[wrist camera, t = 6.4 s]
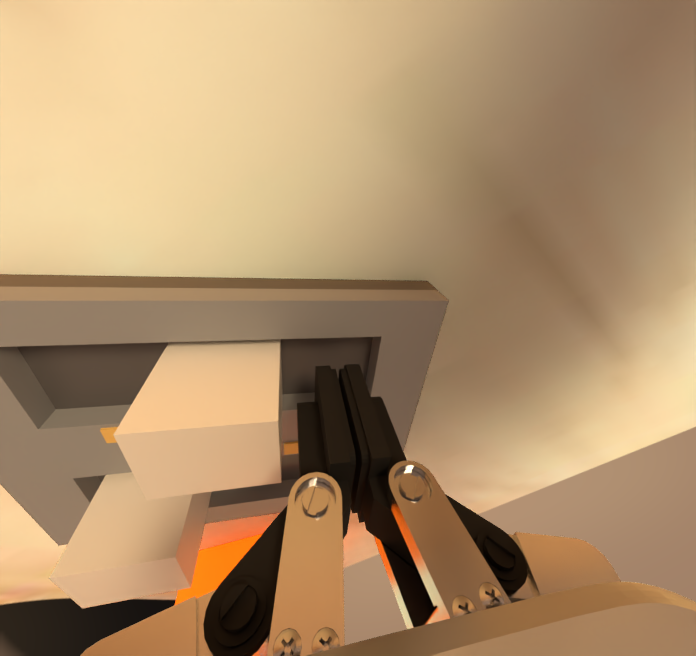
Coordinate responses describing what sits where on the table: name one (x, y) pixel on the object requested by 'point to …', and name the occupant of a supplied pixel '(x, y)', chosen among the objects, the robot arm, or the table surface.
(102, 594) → the tab
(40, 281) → the switch board
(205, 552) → the orange juice
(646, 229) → the table surface
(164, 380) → the tab
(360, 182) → the table surface
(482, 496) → the table surface
